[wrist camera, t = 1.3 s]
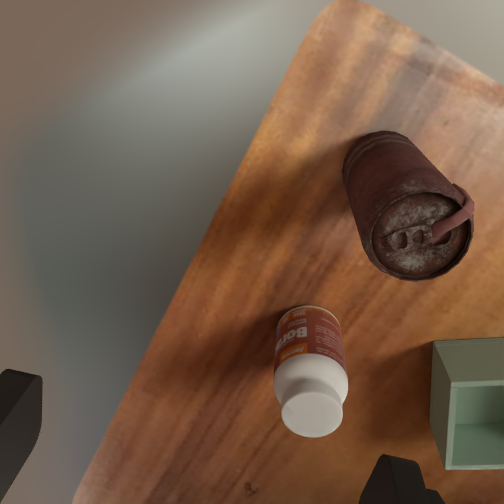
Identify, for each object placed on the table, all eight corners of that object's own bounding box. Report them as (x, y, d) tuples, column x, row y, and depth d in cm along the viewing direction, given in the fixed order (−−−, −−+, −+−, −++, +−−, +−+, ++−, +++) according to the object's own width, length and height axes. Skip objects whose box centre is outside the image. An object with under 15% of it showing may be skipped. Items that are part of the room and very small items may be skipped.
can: (437, 163, 38) (508, 235, 25) (376, 216, 40) (413, 306, 27) (386, 110, 36) (435, 157, 24) (326, 168, 38) (341, 240, 26)
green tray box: (432, 340, 45) (450, 382, 40) (552, 334, 44) (587, 376, 38) (429, 423, 50) (444, 470, 44) (537, 419, 48) (566, 467, 43)
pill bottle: (299, 291, 44) (301, 370, 34) (353, 322, 45) (370, 408, 35) (264, 336, 46) (256, 422, 36) (316, 365, 47) (321, 456, 37)
